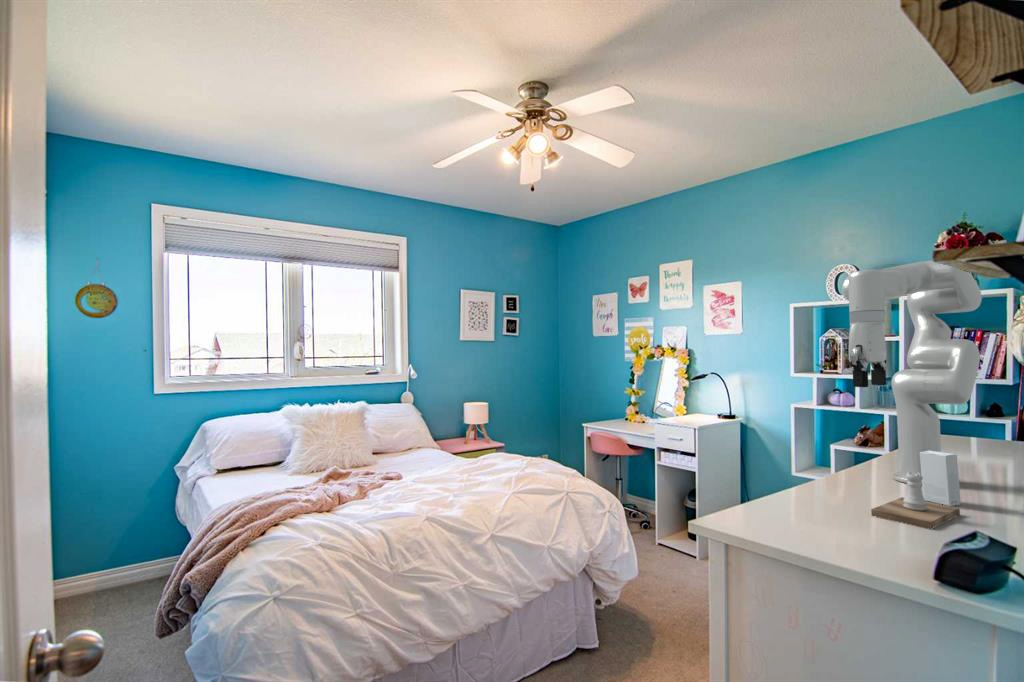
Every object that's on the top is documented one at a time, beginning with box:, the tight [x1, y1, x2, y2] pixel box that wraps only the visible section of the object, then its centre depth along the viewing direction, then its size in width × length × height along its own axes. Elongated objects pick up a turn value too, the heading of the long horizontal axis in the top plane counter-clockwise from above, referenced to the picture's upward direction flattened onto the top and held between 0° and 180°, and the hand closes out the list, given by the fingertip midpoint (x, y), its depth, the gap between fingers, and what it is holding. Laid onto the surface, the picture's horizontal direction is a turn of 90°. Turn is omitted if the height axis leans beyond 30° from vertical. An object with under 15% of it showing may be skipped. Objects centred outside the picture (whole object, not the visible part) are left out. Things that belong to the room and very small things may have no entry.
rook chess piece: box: [903, 472, 928, 511], centre depth 116 cm, size 4×4×8 cm
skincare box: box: [920, 451, 961, 507], centre depth 125 cm, size 6×4×12 cm
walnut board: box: [870, 496, 961, 530], centre depth 116 cm, size 16×11×2 cm
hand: (870, 385), depth 131 cm, fingers open, 9 cm apart
